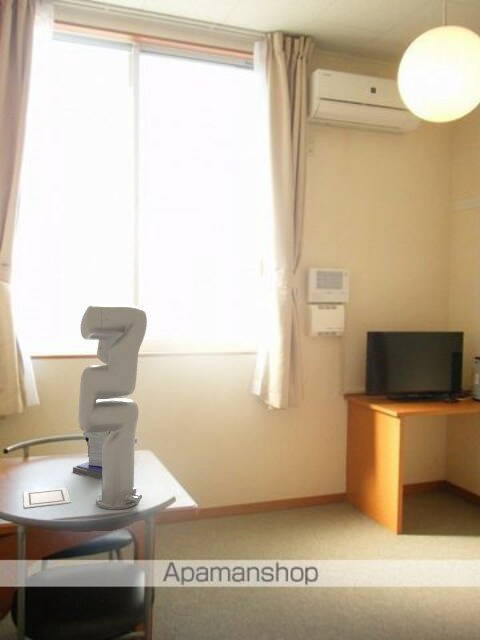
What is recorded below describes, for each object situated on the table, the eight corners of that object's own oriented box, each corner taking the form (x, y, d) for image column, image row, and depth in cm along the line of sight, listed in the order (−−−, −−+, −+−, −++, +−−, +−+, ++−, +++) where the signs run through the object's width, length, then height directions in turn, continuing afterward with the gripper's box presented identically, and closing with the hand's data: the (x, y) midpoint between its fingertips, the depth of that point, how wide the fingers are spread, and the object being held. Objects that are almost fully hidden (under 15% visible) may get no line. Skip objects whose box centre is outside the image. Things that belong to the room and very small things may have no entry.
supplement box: (103, 468, 190) (103, 436, 189) (88, 466, 191) (88, 434, 191) (110, 463, 195) (111, 432, 195) (96, 462, 197) (96, 430, 196)
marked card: (70, 502, 163) (70, 501, 163) (24, 508, 157) (24, 506, 157) (66, 488, 175) (66, 487, 174) (23, 493, 169) (23, 491, 169)
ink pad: (125, 470, 195) (125, 464, 195) (101, 479, 184) (101, 473, 184) (97, 463, 202) (98, 457, 202) (72, 471, 192) (72, 465, 191)
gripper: (126, 410, 191) (125, 460, 192) (91, 404, 200) (90, 451, 201) (111, 414, 185) (109, 465, 185) (75, 407, 194) (74, 456, 194)
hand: (99, 457), depth 193 cm, fingers closed on supplement box, 7 cm apart
